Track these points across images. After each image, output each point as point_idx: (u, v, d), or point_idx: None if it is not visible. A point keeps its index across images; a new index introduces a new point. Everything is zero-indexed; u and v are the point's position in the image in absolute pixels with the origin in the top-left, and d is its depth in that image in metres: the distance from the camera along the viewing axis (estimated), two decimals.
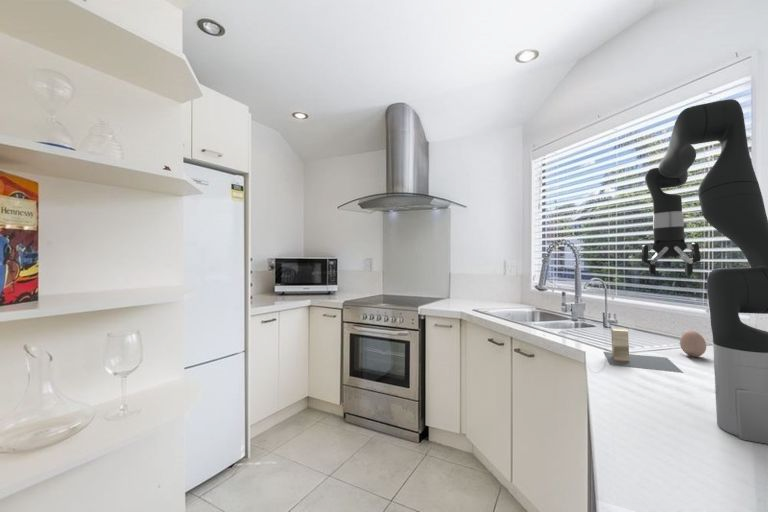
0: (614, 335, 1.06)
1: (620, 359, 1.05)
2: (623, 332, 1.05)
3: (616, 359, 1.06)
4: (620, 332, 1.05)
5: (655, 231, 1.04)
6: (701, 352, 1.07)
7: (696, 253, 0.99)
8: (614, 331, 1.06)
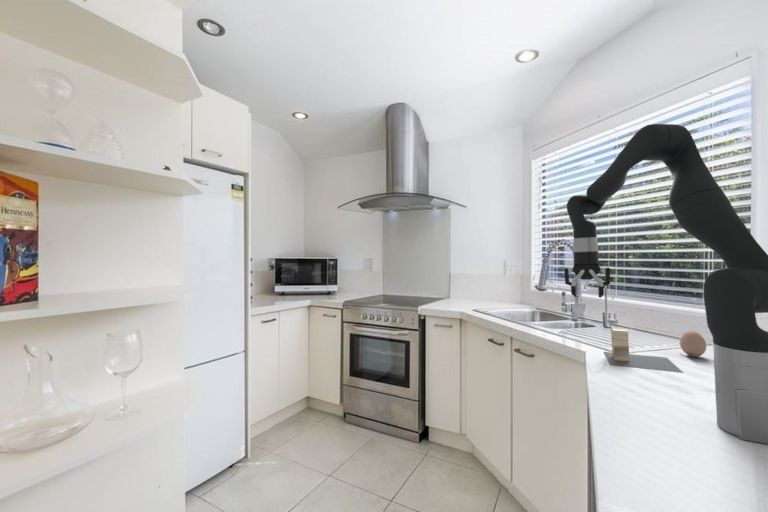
0: (614, 335, 1.06)
1: (620, 359, 1.05)
2: (623, 332, 1.05)
3: (616, 359, 1.06)
4: (620, 332, 1.05)
5: (574, 255, 1.13)
6: (701, 352, 1.07)
7: (607, 277, 1.08)
8: (614, 331, 1.06)
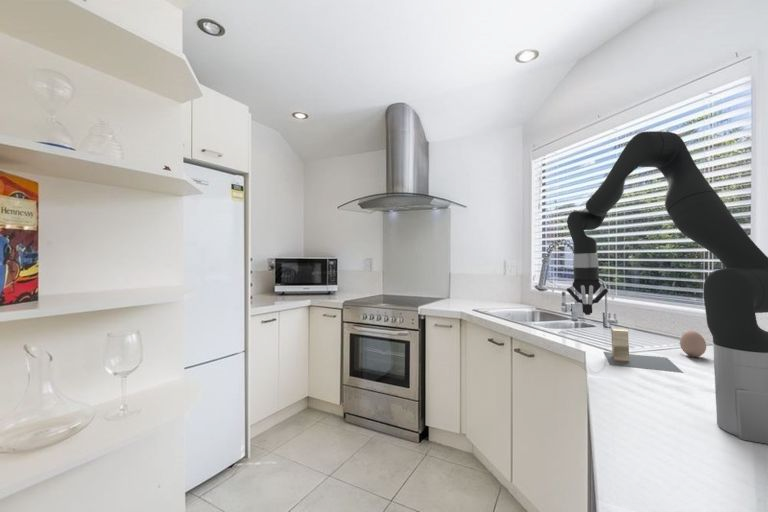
0: (614, 335, 1.06)
1: (620, 359, 1.05)
2: (623, 332, 1.05)
3: (616, 359, 1.06)
4: (620, 332, 1.05)
5: (574, 270, 1.13)
6: (701, 352, 1.07)
7: (599, 296, 1.09)
8: (614, 331, 1.06)
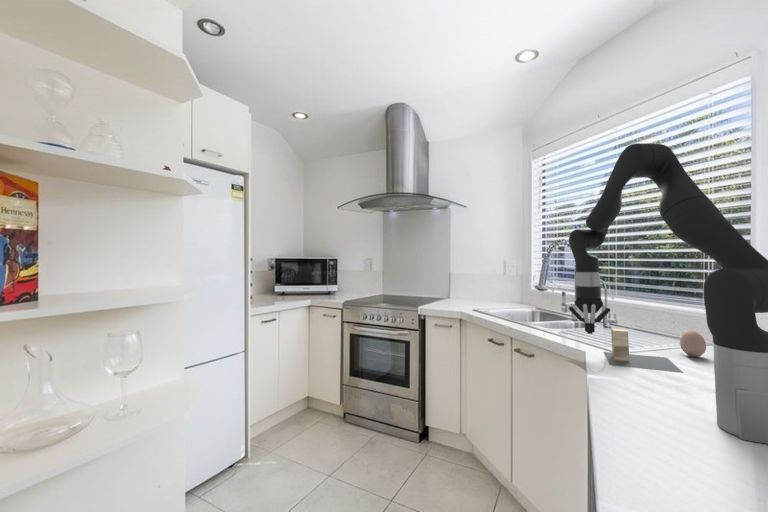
0: (614, 335, 1.06)
1: (620, 359, 1.05)
2: (623, 332, 1.05)
3: (616, 359, 1.06)
4: (620, 332, 1.05)
5: (576, 288, 1.13)
6: (701, 352, 1.07)
7: (602, 315, 1.09)
8: (614, 331, 1.06)
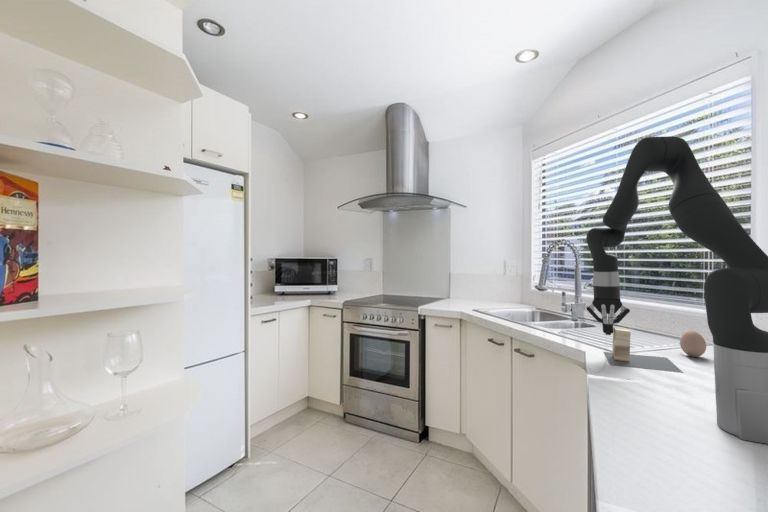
0: (616, 334, 1.06)
1: (620, 359, 1.05)
2: (625, 332, 1.05)
3: (616, 358, 1.06)
4: (622, 332, 1.05)
5: (594, 288, 1.10)
6: (701, 352, 1.07)
7: (621, 316, 1.06)
8: (616, 331, 1.06)
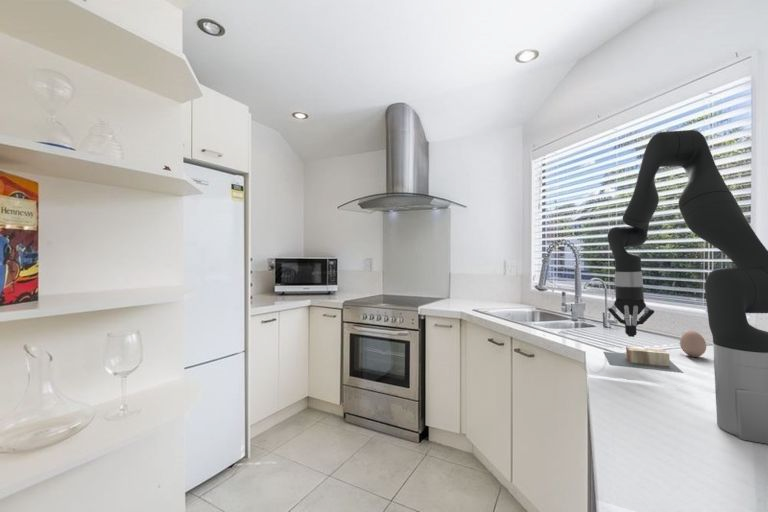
0: (662, 353, 1.00)
1: (631, 355, 1.04)
2: (667, 362, 1.00)
3: (630, 351, 1.04)
4: (667, 359, 1.00)
5: (616, 289, 1.07)
6: (701, 352, 1.07)
7: (645, 317, 1.03)
8: (667, 354, 1.00)
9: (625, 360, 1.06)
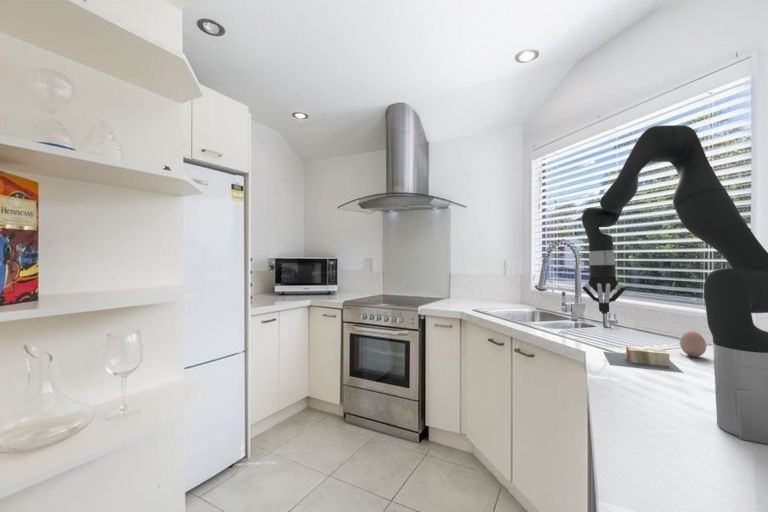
0: (662, 353, 1.00)
1: (631, 355, 1.04)
2: (667, 362, 1.00)
3: (630, 351, 1.04)
4: (667, 359, 1.00)
5: (590, 268, 1.11)
6: (701, 352, 1.07)
7: (617, 294, 1.07)
8: (667, 354, 1.00)
9: (625, 360, 1.06)
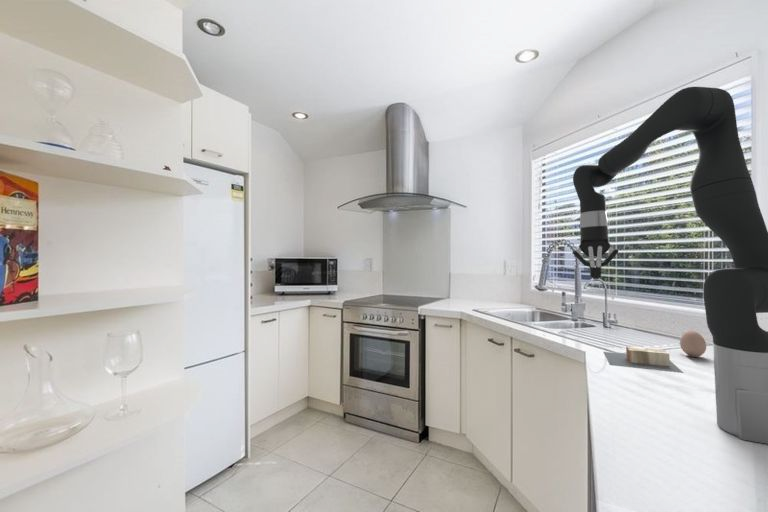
0: (662, 353, 1.00)
1: (631, 355, 1.04)
2: (667, 362, 1.00)
3: (630, 351, 1.04)
4: (667, 359, 1.00)
5: (581, 230, 1.04)
6: (701, 352, 1.07)
7: (609, 258, 1.00)
8: (667, 354, 1.00)
9: (625, 360, 1.06)
